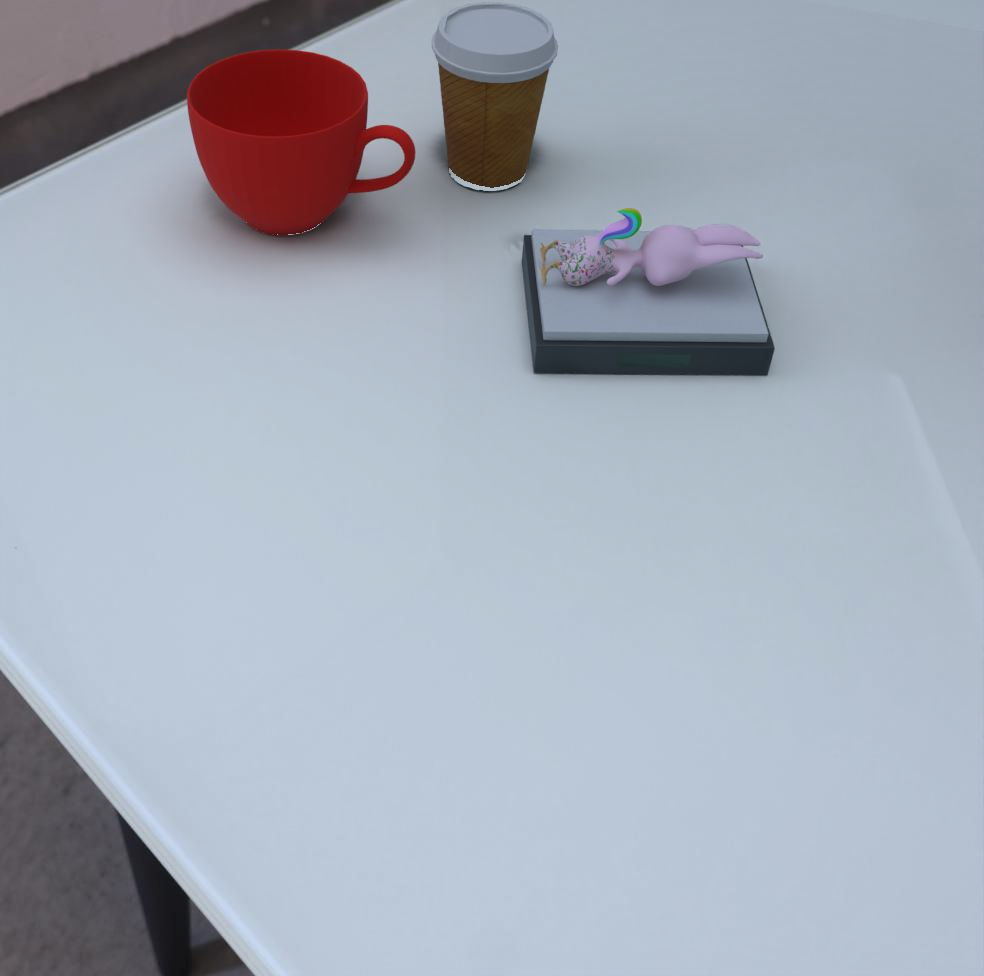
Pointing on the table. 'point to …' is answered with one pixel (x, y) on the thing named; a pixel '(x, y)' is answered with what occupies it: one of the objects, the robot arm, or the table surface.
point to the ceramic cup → (285, 136)
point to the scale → (643, 318)
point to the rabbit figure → (648, 251)
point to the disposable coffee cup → (492, 87)
